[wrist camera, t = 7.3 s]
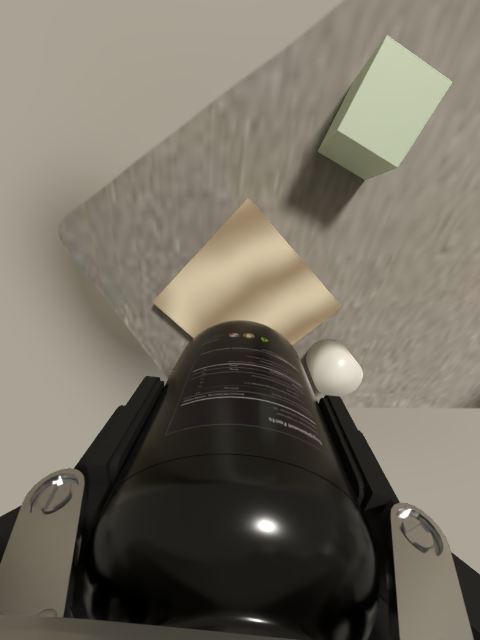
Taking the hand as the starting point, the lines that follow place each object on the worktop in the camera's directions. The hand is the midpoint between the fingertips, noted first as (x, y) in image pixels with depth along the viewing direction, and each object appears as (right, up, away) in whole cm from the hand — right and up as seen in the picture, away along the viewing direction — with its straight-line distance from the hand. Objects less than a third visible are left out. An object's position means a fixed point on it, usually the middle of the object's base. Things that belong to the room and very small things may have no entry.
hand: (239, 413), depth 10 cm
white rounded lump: (+11, 0, +18) cm, 21 cm away
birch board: (+1, +6, +15) cm, 17 cm away
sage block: (+10, +20, +9) cm, 24 cm away
